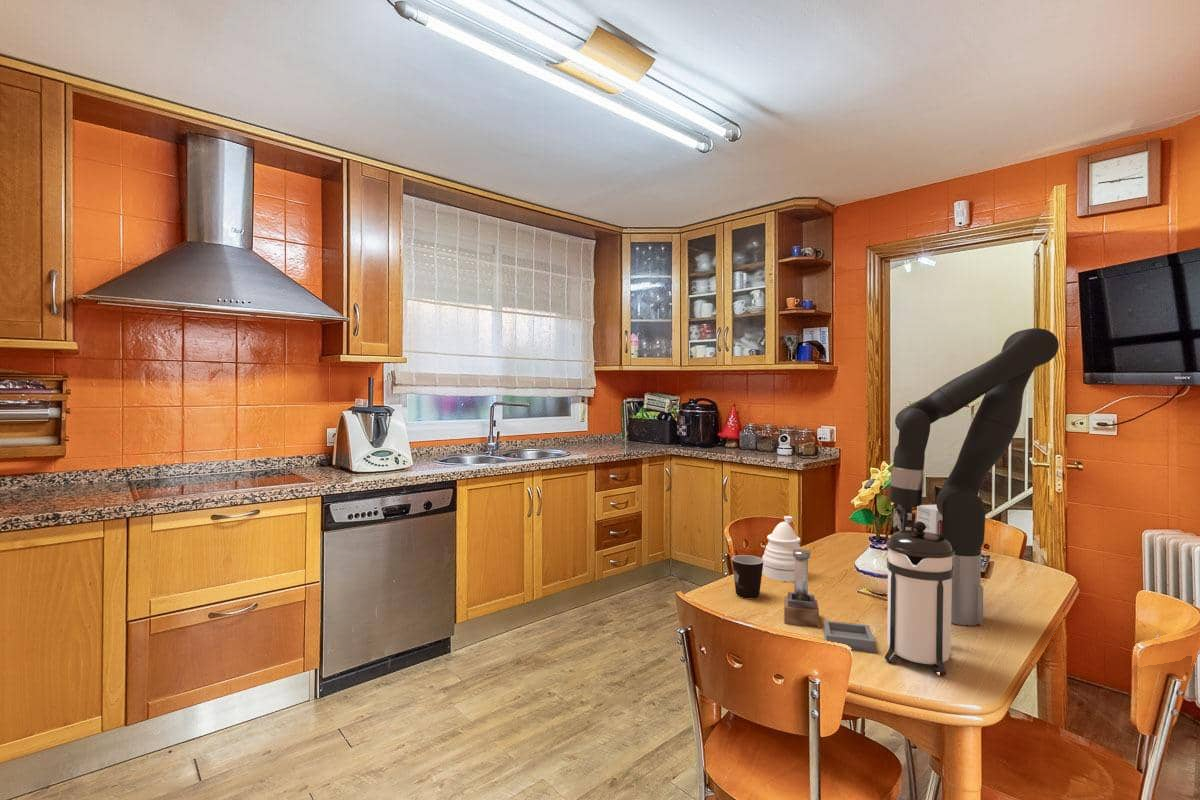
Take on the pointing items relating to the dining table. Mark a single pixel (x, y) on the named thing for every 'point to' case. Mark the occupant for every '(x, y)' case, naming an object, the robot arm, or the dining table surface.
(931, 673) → the dining table surface
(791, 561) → the honey pot
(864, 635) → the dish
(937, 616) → the coffee press
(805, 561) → the pin
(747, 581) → the coffee mug
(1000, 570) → the dining table surface
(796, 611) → the block
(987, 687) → the dining table surface
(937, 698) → the dining table surface
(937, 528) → the supplement box
